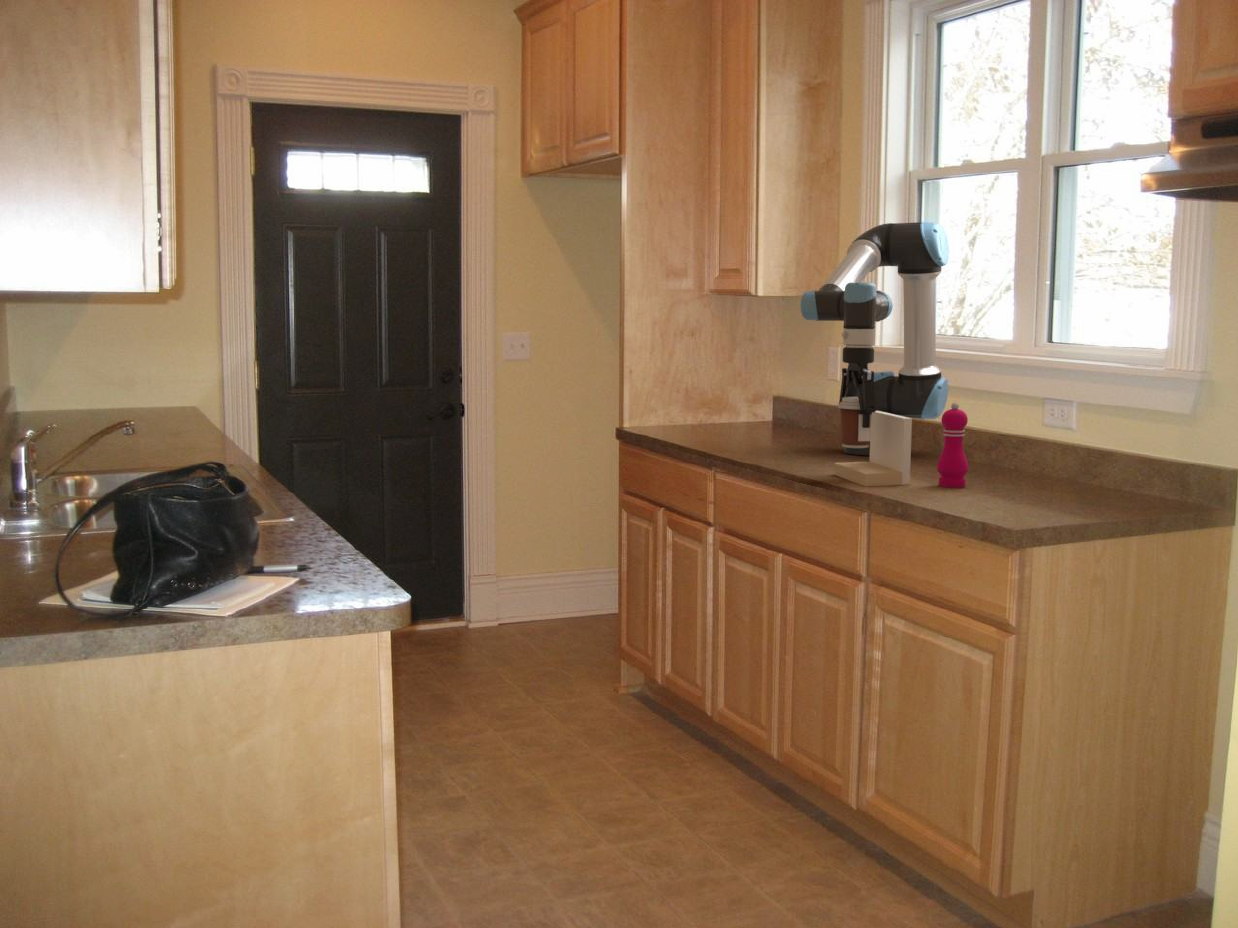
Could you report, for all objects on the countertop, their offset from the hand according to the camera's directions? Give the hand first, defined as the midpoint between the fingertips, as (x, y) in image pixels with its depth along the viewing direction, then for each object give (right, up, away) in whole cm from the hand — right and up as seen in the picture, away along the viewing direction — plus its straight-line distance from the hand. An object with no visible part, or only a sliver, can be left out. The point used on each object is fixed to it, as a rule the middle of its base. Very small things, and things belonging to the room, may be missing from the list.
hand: (855, 438), depth 302 cm
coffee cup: (0, -2, 0) cm, 2 cm away
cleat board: (+4, -10, +3) cm, 11 cm away
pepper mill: (+22, -12, -7) cm, 26 cm away
